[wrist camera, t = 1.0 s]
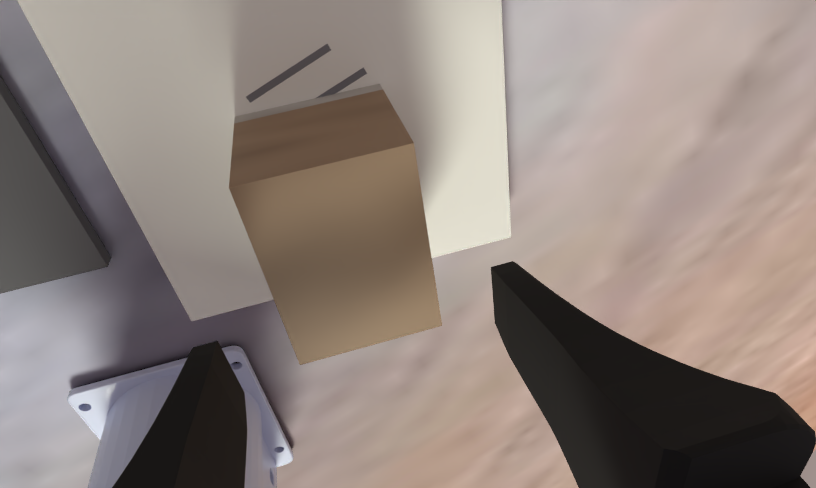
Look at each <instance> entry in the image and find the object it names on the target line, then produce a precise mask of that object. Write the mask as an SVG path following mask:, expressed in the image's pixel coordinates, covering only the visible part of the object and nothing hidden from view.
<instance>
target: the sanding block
mask: <svg viewBox="0 0 816 488" xmlns="http://www.w3.org/2000/svg"><path fill="white" fill-rule="evenodd" d="M229 189H230V192H231V194H232V197H233V199H234V202H235V204H236V207H237V209H238V212H239V214H240V217H241V219H242V222H243V224H244V227H245V229H246V232H247V234H248V237H249V239H250V242H251V244H252V247H253V249H254V252H255V254H256V257H257V259H258V262H259V264H260V267H261V269H262V272H263V274H264V277H265V279H266V281H267V284H268V286H269V289H270V291H271V294H272V296H273V299H274V301H275V304H276V306H277V309H278V311H279V314H280V316H281V319H282V321H283V324H284V326H285V329H286V331H287V334H288V336H289V339H290V341H291V344H292V346H293V349H294V351H295V354H296V356H297V359H298V361H299V364H300V365H302V364H306V363H309V362H313V361H316V360H320V359H324V358H327V357H331V356H334V355H338V354H342V353H345V352H349V351H352V350H356V349H360V348H363V347H367V346H370V345H374V344H378V343H381V342H385V341H388V340H392V339H396V338H399V337H403V336H406V335H410V334H414V333H417V332H421V331H424V330H428V329H432V328H435V327H439V326H442V322H441V315H440V309H439V302H438V296H437V289H436V283H435V277H434V270H433V264H432V257H431V251H430V244H429V238H428V231H427V225H426V218H425V212H424V205H423V199H422V192H421V186H420V179H419V173H418V166H417V160H416V153H415V147H414V142H413V141H412V139H411V137H410V135H409V134H408V132H407V130H406V128H405V127H404V125H403V123H402V121H401V120H400V118H399V116H398V115H397V113H396V111H395V109H394V108H393V106H392V104H391V102H390V101H389V99H388V97H387V96H386V94H385V92H384V90H383V89H382V87H381V85H380V84H376V85H371V86H367V87H363V88H358V89H354V90H349V91H345V92H341V93H336V94H332V95H328V96H323V97H319V98H315V99H310V100H306V101H301V102H297V103H293V104H288V105H284V106H280V107H275V108H271V109H266V110H262V111H258V112H253V113H249V114H245V115H240V116H236V117H235V118H234V131H233V143H232V155H231V168H230V180H229Z"/></svg>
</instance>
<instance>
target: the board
mask: <svg viewBox="0 0 816 488" xmlns="http://www.w3.org/2000/svg"><path fill="white" fill-rule="evenodd" d="M17 1H18V3H19V5H20V7H21V8H22V10H23V12H24V14H25V16H26V18H27V20H28V21H29V23H30V25H31V27H32V29H33V31H34V32H35V34H36V36H37V38H38V40H39V42H40V43H41V45H42V47H43V49H44V51H45V53H46V55H47V56H48V58H49V60H50V62H51V64H52V66H53V67H54V69H55V71H56V73H57V75H58V77H59V78H60V80H61V82H62V84H63V86H64V88H65V89H66V91H67V93H68V95H69V97H70V99H71V101H72V102H73V104H74V106H75V108H76V110H77V112H78V113H79V115H80V117H81V119H82V121H83V123H84V124H85V126H86V128H87V130H88V132H89V134H90V136H91V137H92V139H93V141H94V143H95V145H96V147H97V148H98V150H99V152H100V154H101V156H102V158H103V159H104V161H105V163H106V165H107V167H108V169H109V170H110V172H111V174H112V176H113V178H114V180H115V182H116V183H117V185H118V187H119V189H120V191H121V193H122V194H123V196H124V198H125V200H126V202H127V204H128V205H129V207H130V209H131V211H132V213H133V215H134V217H135V218H136V220H137V222H138V224H139V226H140V228H141V229H142V231H143V233H144V235H145V237H146V239H147V240H148V242H149V244H150V246H151V248H152V250H153V251H154V253H155V255H156V257H157V259H158V261H159V263H160V264H161V266H162V268H163V270H164V272H165V274H166V275H167V277H168V279H169V281H170V283H171V285H172V286H173V288H174V290H175V292H176V294H177V296H178V297H179V299H180V301H181V303H182V305H183V307H184V309H185V310H186V312H187V314H188V316H189V318H190V320H191V321H195V320H199V319H203V318H207V317H211V316H214V315H218V314H222V313H226V312H230V311H233V310H237V309H241V308H245V307H249V306H252V305H256V304H260V303H264V302H267V301H271V300H274V299H273V296H272V294H271V291H270V289H269V286H268V284H267V281H266V279H265V277H264V274H263V272H262V269H261V267H260V264H259V262H258V259H257V257H256V254H255V252H254V249H253V247H252V244H251V242H250V239H249V237H248V234H247V232H246V229H245V227H244V224H243V222H242V219H241V217H240V214H239V212H238V209H237V207H236V204H235V202H234V199H233V197H232V194H231V192H230V189H229V180H230V168H231V155H232V143H233V131H234V118H235V117H236V116H240V115H245V114H249V113H253V112H258V111H262V110H266V109H271V108H275V107H280V106H284V105H288V104H293V103H297V102H301V101H306V100H310V99H315V98H319V97H323V96H328V95H332V94H336V93H341V92H345V91H349V90H354V89H358V88H363V87H367V86H371V85H376V84H380V85H381V87H382V89H383V90H384V92H385V94H386V96H387V97H388V99H389V101H390V102H391V104H392V106H393V108H394V109H395V111H396V113H397V115H398V116H399V118H400V120H401V121H402V123H403V125H404V127H405V128H406V130H407V132H408V134H409V135H410V137H411V139H412V141H413V142H414V147H415V153H416V160H417V166H418V173H419V179H420V186H421V192H422V199H423V205H424V212H425V218H426V225H427V231H428V238H429V244H430V251H431V257H432V258H434V257H438V256H442V255H445V254H449V253H453V252H457V251H461V250H464V249H468V248H472V247H476V246H479V245H483V244H487V243H491V242H495V241H498V240H502V239H506V238H510V237H511V225H510V201H509V176H508V152H507V127H506V103H505V78H504V53H503V29H502V4H501V0H17Z"/></svg>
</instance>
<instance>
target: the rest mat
mask: <svg viewBox="0 0 816 488" xmlns="http://www.w3.org/2000/svg"><path fill="white" fill-rule="evenodd" d="M110 259H111V257H110V255H109V254H108V252H107V250H106V249H105V247H104V245H103V244H102V242H101V240H100V239H99V237H98V236H97V234H96V232H95V231H94V229H93V227H92V226H91V224H90V222H89V221H88V219H87V217H86V216H85V214H84V213H83V211H82V209H81V208H80V206H79V204H78V203H77V201H76V199H75V198H74V196H73V194H72V193H71V191H70V190H69V188H68V186H67V185H66V183H65V181H64V180H63V178H62V176H61V175H60V173H59V171H58V170H57V168H56V166H55V165H54V163H53V162H52V160H51V158H50V157H49V155H48V153H47V152H46V150H45V148H44V147H43V145H42V143H41V142H40V140H39V139H38V137H37V135H36V134H35V132H34V130H33V129H32V127H31V125H30V124H29V122H28V120H27V119H26V117H25V116H24V114H23V112H22V111H21V109H20V107H19V106H18V104H17V102H16V101H15V99H14V97H13V96H12V94H11V93H10V91H9V89H8V88H7V86H6V84H5V83H4V81H3V79H2V78H1V76H0V293H4V292H8V291H12V290H16V289H20V288H24V287H28V286H32V285H36V284H40V283H44V282H48V281H52V280H56V279H60V278H64V277H68V276H72V275H76V274H80V273H84V272H88V271H92V270H96V269H100V268H104V267H108V265H109V262H110Z"/></svg>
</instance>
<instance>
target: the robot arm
mask: <svg viewBox="0 0 816 488" xmlns="http://www.w3.org/2000/svg"><path fill="white" fill-rule="evenodd" d="M491 274H492V288H493V302H494V316H495V324H496V326H497V328H498V331H499V333H500V336H501V338H502V340H503V343H504V345H505V347H506V350H507V352H508V354H509V356H510V358H511V360H512V361H513V363H514V365H515V367H516V368H517V370H518V372H519V374H520V375H521V377H522V379H523V380H524V382H525V384H526V386H527V387H528V389H529V391H530V392H531V394H532V396H533V398H534V399H535V401H536V403H537V404H538V406H539V408H540V409H541V411H542V413H543V415H544V416H545V418H546V420H547V421H548V423H549V425H550V427H551V429H552V431H553V433H554V434H555V436H556V438H557V440H558V443H559V445H560V447H561V449H562V451H563V453H564V456H565V458H566V460H567V462H568V464H569V467H570V469H571V471H572V473H573V476H574V478H575V480H576V482H577V485H578V487H579V488H810V487H809V486H808V484H807V483H806V482H805V481H804V480H803V479H802V478H801V477H800V475H801V473H802V471H803V469H804V467H805V466H806V464H807V462H808V460H809V458H810V456H811V454H812V453H813V450H814V447H815V444H816V436H815V431H814V430H813V429H812V428H811V427H810V426H809V425H808V424H807V423H806V422H805V421H804V420H803V419H802V418H801V417H800V416H799V415H798V414H797V413H796V412H795V411H794V410H793V409H792V408H791V407H790V406H789V405H788V404H787V403H786V402H785V401H784V400H782V399H781V398H780V397H779V396H778V395H777V394H776V393H773V392H769V391H766V390H762V389H759V388H755V387H752V386H748V385H745V384H741V383H738V382H734V381H731V380H728V379H725V378H722V377H719V376H716V375H713V374H710V373H707V372H704V371H702V370H699V369H696V368H693V367H691V366H688V365H686V364H683V363H680V362H678V361H676V360H673V359H671V358H669V357H666V356H664V355H662V354H659V353H657V352H654V351H652V350H650V349H648V348H646V347H644V346H642V345H639V344H638V343H636V342H634V341H632V340H630V339H628V338H626V337H624V336H622V335H620V334H618V333H616V332H615V331H613V330H611V329H609V328H608V327H606V326H604V325H603V324H601V323H599V322H598V321H596V320H594V319H593V318H591V317H590V316H588V315H586V314H585V313H583V312H582V311H580V310H579V309H577V308H576V307H574V306H573V305H571V304H570V303H569V302H567V301H566V300H564V299H563V298H561V297H560V296H558V295H557V294H556V293H554V292H553V291H552V290H550V289H549V288H548V287H546V286H545V285H544V284H542V283H541V282H540V281H538V280H537V279H536V278H534V277H533V276H532V275H531V274H529V273H528V272H527V271H525V270H524V269H523V268H522V267H520V266H519V265H518V264H516V263H515V262H513V261H512V262H508V263H505V264H501V265H497V266H494V267H491ZM234 362H240V363H237V364H235V363H234ZM67 401H68V403H69V404H70V405H71V406H72V408H73V409H74V410H75V411H76V412H77V413H78V415H79V416H80V417H81V418H82V419H83V421H84V422H85V423H86V424H87V425H88V427H89V428H90V429H91V430H92V431H93V433H94V434H95V435H96V436H97V437H98V438H99V440H100V444H99V447H98V451H97V455H96V458H95V462H94V466H93V469H92V473H91V477H90V480H89V484H88V488H277V470H276V467H279V466H282V465H285V464H288V463H290V462H291V461H292V460H293V451H292V449H291V447H290V445H289V443H288V441H287V439H286V437H285V435H284V433H283V431H282V429H281V427H280V424H279V422H278V420H277V418H276V416H275V414H274V412H273V410H272V408H271V406H270V404H269V402H268V400H267V398H266V396H265V393H264V391H263V389H262V387H261V385H260V383H259V381H258V379H257V377H256V375H255V373H254V371H253V369H252V367H251V365H250V362H249V360H248V358H247V356H246V354H245V352H244V350H243V349H242V348H241V347H239V346H228V347H225V348H221V346H220V345H219V343H218V341H216V342H212V343H208V344H204V345H201V346H197V347H193V349H192V350H191V352H190V354H189V356H188V358H184V359H180V360H177V361H173V362H169V363H165V364H162V365H158V366H154V367H151V368H147V369H143V370H140V371H136V372H132V373H128V374H125V375H121V376H117V377H114V378H110V379H106V380H103V381H99V382H95V383H91V384H88V385H84V386H80V387H77V388H74V389H72V390H71V391H70V392H69V395H68V398H67ZM84 403H86V404H84Z"/></svg>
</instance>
